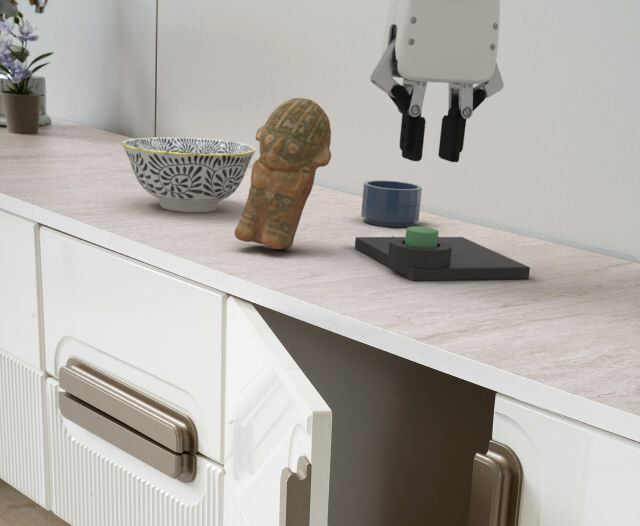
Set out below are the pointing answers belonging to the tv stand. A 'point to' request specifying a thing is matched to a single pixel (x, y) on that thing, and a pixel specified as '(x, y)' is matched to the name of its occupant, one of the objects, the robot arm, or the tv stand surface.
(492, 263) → the black flat block
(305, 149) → the figurine
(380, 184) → the small bowl
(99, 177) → the tv stand surface
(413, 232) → the button
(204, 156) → the bowl
